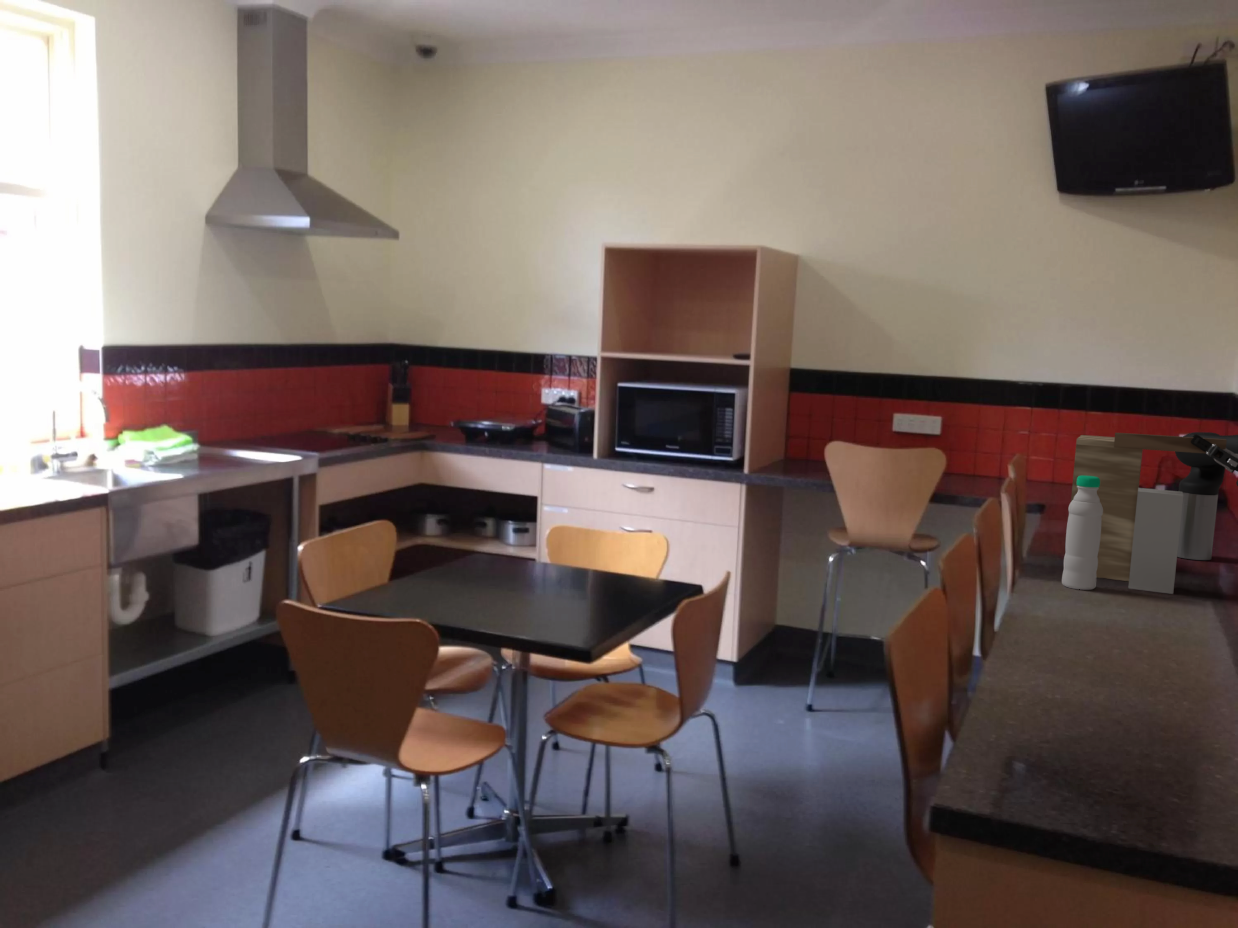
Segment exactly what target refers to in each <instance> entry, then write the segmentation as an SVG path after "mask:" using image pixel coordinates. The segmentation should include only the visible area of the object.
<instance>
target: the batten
mask: <svg viewBox="0 0 1238 928" xmlns="http://www.w3.org/2000/svg"><path fill="white" fill-rule="evenodd" d="M1114 437H1115V440H1114V447H1115V448H1130V449H1143V450H1149V451H1161V452H1162V451H1163V452H1175V451H1176V452H1191V453H1206V452H1207V451H1206V452H1205V451H1203V450H1201V449H1200V448H1198V447H1196V446H1195V445H1193V444H1191V440H1192V439H1193V437H1183V436H1180V435H1179V436H1177V435H1160V434H1148V433H1147V434H1143V433H1130V432H1129V433H1126V432H1115V433H1114ZM1203 439H1205V440H1207V441H1208V442H1210V443H1212V444H1216V445H1217V446H1219V447H1220V448H1221V449H1223V448H1226V442H1227V440H1226V439H1214V438H1203ZM1212 444H1211V446H1212ZM1220 452H1221V451H1219V452H1218V454H1219V453H1220Z"/></svg>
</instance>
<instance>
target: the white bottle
mask: <svg viewBox="0 0 1238 928" xmlns="http://www.w3.org/2000/svg"><path fill="white" fill-rule="evenodd" d="M1099 486H1100V479H1099V478H1098V477H1095V476H1086V475H1081V476H1078V477H1077V488H1078V492H1077V494H1076V495H1075V496H1074V500H1072V502H1071V501H1070V503H1069V505H1068V517H1067V524H1066V531H1065V533H1066V534H1065V554H1064V557H1063V571H1062V575H1061V584H1062V585H1063V586H1064V587H1066V588H1068V589H1073V590H1079V589H1080V590H1079V591H1092V590H1094V589H1095V588H1096V586H1097V577H1096V571H1097V567H1098V557H1097V556H1098V552H1099V545H1100V536H1101V516H1102V514H1103V508H1102V505H1101V503H1100V499H1099V497H1098V495H1097V490H1098V489H1099V488H1098V487H1099Z"/></svg>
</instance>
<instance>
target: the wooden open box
mask: <svg viewBox="0 0 1238 928" xmlns="http://www.w3.org/2000/svg"><path fill="white" fill-rule="evenodd" d="M1114 440H1115V436H1101V435H1100V436H1099V435H1088V434H1087V435H1086V434H1081V435H1080V436H1078V437H1077V438H1076V442H1075V454H1074V464H1073V465H1074V466H1073V473H1072V486H1071V497H1070V503H1071V502H1072V500H1074V496H1075V495H1076V494H1077V492H1078V488H1077V477H1078V476H1081V475H1086V476H1095V477H1098V478H1099V479H1100V486H1099V487H1098V488H1099V489H1098V490H1097V495H1098V497H1099V499H1100V503H1101V505H1102V508H1103V514H1102V516H1101V536H1100V545H1099V552H1098V556H1097V557H1098V567H1097V571H1096V578H1099V579H1108V580H1116V581H1123V582H1124V581H1125V582H1129V576H1130V566H1131V556H1132V546H1133V536H1134V525H1135V515H1136V505H1137V495H1138V488H1140V482H1141V481H1140V479H1141V471H1142V469H1141V468H1142V460H1143V459H1142V458H1143V452H1144V449H1130V448H1115V447H1114Z"/></svg>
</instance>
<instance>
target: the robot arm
mask: <svg viewBox="0 0 1238 928" xmlns="http://www.w3.org/2000/svg"><path fill="white" fill-rule="evenodd" d="M1182 437H1193V439H1192V440H1191V444H1193V445H1195V446H1196V447H1198V448H1200V449H1201V450H1203V451H1205V452H1206V451H1207V452H1206V453H1191V452H1176V451H1174V453H1175V456H1176V458H1177V459H1178V460H1179V461H1180V463H1182V464H1183V465H1185V466H1187V467H1190V471H1189V473H1188V475H1187V476H1186V477H1185V478H1183V479H1181V480H1180V482H1179V485H1178V491H1180V492H1183V504H1182V513H1181V523H1180V533H1179V542H1178V552H1177V558H1180V559H1181V558H1182V559H1186V560H1187V559H1188V560H1196V561H1210V560H1212V553H1213V544H1214V536H1215V527H1216V518H1217V511H1218V499H1219V491H1220V490H1219V489H1220V488H1221V486H1222V484H1223V481H1224V477H1225V471H1226V470H1227V471H1228V472H1230V473H1232V474H1233V473H1234V472H1235V471H1236V472H1238V434H1231V435H1228V434H1227V435H1220V434H1218V433H1216V432H1210V431H1209V432H1206V431H1202V432H1201V431H1195V432H1189V433H1187V434H1184V435H1183V436H1182ZM1203 438H1214V439H1226V440H1227V442H1226V448H1223V449H1221V448H1220V447H1219V446H1217V445H1216V444H1212V443H1210V442H1208V441H1207V440H1205V439H1203ZM1211 444H1212V446H1211ZM1219 451H1221V452H1220V453H1219V454H1218V452H1219ZM1236 486H1237V487H1238V479H1237V481H1236Z"/></svg>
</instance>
